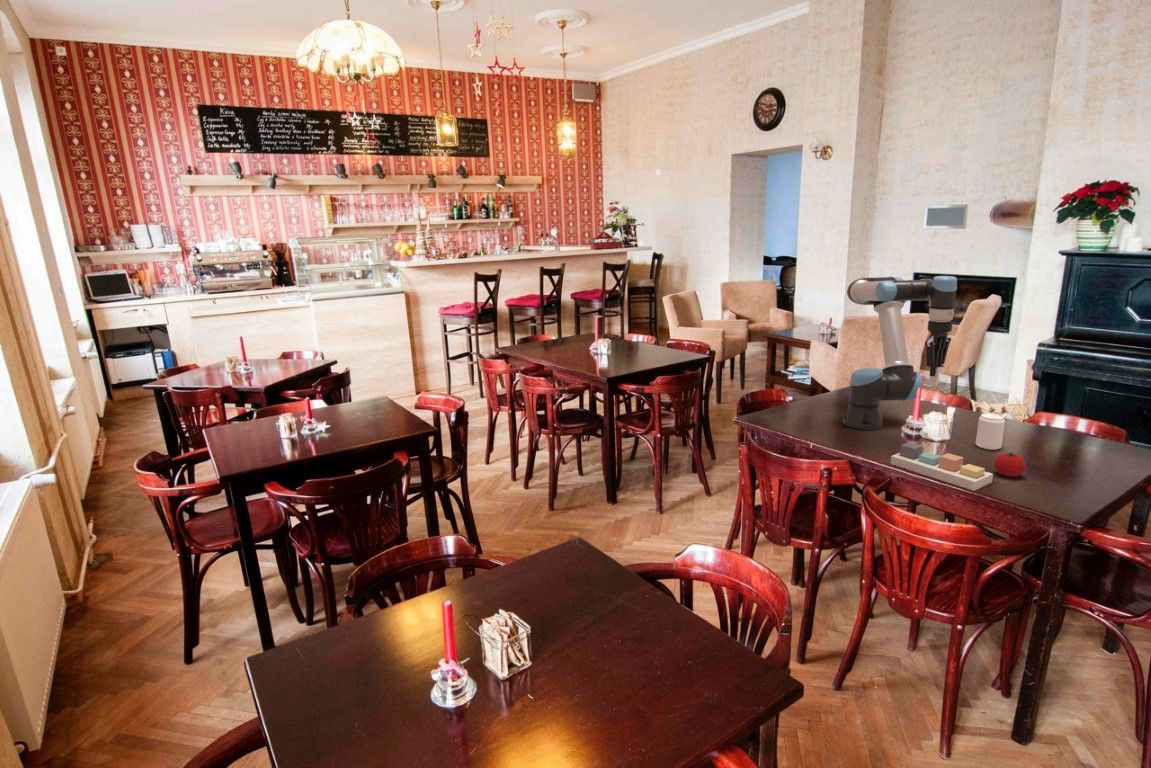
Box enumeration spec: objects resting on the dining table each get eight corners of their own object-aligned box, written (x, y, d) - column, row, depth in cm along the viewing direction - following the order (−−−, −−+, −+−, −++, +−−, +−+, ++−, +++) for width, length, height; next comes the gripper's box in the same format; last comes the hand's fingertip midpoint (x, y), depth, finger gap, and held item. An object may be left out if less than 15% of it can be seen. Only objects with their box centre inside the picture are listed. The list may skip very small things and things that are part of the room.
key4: (958, 479, 205) (960, 467, 203) (967, 476, 207) (968, 463, 206) (974, 485, 200) (976, 472, 199) (983, 481, 203) (984, 468, 202)
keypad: (890, 463, 221) (891, 455, 220) (908, 457, 227) (909, 449, 226) (973, 490, 198) (975, 482, 197) (991, 482, 204) (993, 473, 203)
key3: (938, 468, 210) (939, 456, 209) (946, 465, 212) (948, 453, 211) (953, 473, 206) (955, 460, 205) (961, 469, 208) (963, 457, 207)
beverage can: (993, 443, 237) (998, 412, 234) (1005, 450, 230) (1010, 419, 227) (971, 443, 238) (975, 412, 235) (982, 450, 230) (986, 419, 227)
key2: (917, 467, 216) (919, 455, 215) (926, 463, 218) (927, 452, 217) (932, 471, 212) (933, 459, 211) (940, 468, 214) (942, 456, 213)
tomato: (1013, 482, 203) (1016, 459, 201) (986, 472, 211) (989, 450, 209) (1030, 477, 207) (1034, 454, 205) (1003, 468, 214) (1006, 446, 212)
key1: (899, 456, 221) (900, 445, 220) (907, 453, 224) (909, 442, 222) (913, 461, 217) (914, 449, 216) (921, 457, 219) (923, 446, 218)
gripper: (940, 323, 217) (933, 389, 223) (961, 319, 224) (953, 383, 230) (919, 321, 223) (912, 385, 229) (940, 317, 230) (933, 379, 236)
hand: (933, 384), depth 230 cm, fingers closed
